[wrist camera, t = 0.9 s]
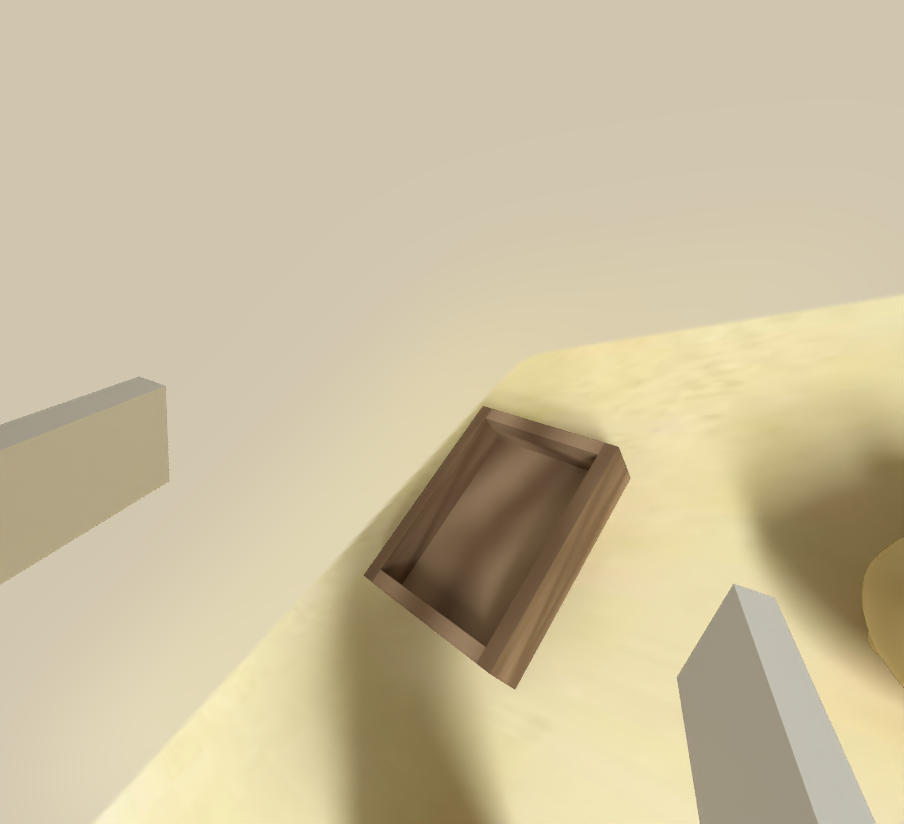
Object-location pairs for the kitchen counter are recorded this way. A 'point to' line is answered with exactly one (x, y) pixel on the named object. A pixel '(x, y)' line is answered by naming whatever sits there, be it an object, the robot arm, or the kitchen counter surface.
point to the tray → (501, 536)
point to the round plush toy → (886, 606)
